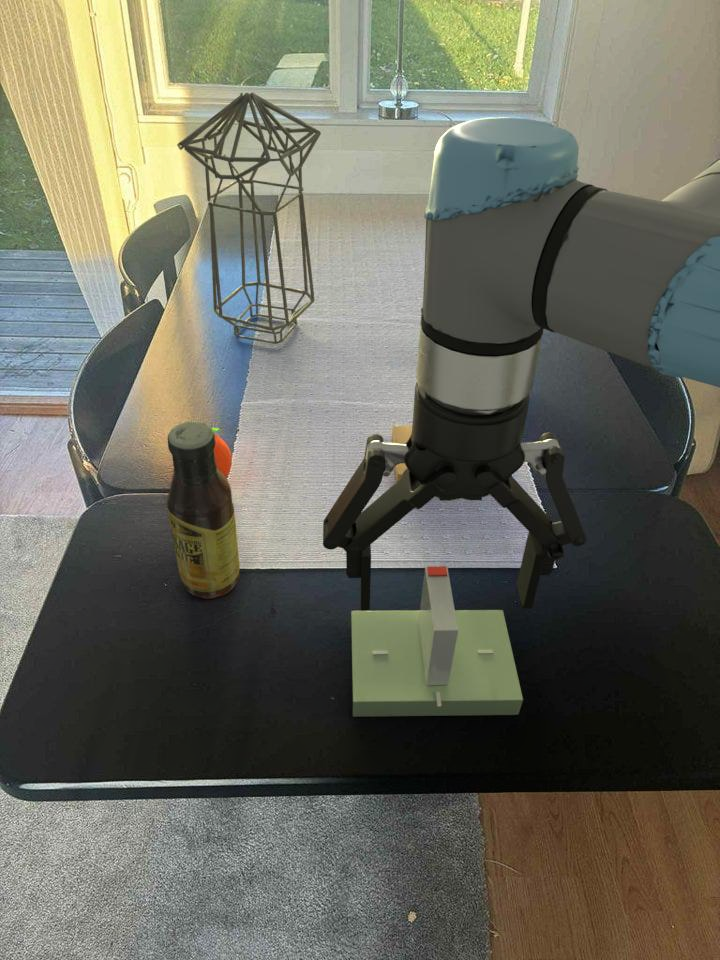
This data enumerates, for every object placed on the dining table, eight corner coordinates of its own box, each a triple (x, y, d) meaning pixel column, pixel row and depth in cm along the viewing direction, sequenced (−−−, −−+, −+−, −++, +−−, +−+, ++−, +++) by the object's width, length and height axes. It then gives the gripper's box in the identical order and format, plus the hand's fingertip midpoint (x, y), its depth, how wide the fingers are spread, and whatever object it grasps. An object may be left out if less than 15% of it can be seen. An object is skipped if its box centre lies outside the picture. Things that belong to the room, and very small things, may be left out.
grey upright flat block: (448, 685, 62) (458, 628, 57) (426, 685, 62) (434, 628, 57) (438, 621, 68) (447, 564, 62) (418, 622, 68) (425, 564, 62)
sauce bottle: (171, 576, 75) (136, 426, 62) (221, 549, 78) (199, 401, 65) (202, 614, 71) (172, 463, 58) (254, 585, 74) (237, 435, 61)
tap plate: (498, 620, 71) (502, 603, 69) (519, 721, 63) (525, 705, 61) (350, 621, 71) (351, 604, 69) (352, 723, 62) (353, 707, 60)
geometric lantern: (328, 319, 118) (326, 87, 95) (287, 364, 107) (274, 114, 84) (245, 301, 123) (224, 75, 100) (198, 343, 111) (162, 99, 88)
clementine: (206, 453, 90) (199, 408, 86) (250, 470, 88) (245, 425, 83) (165, 489, 85) (155, 442, 80) (211, 508, 83) (203, 462, 78)
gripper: (642, 354, 49) (578, 562, 63) (284, 356, 48) (299, 566, 62) (682, 416, 43) (602, 630, 57) (278, 419, 43) (295, 635, 56)
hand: (444, 597), depth 59 cm, fingers open, 13 cm apart
